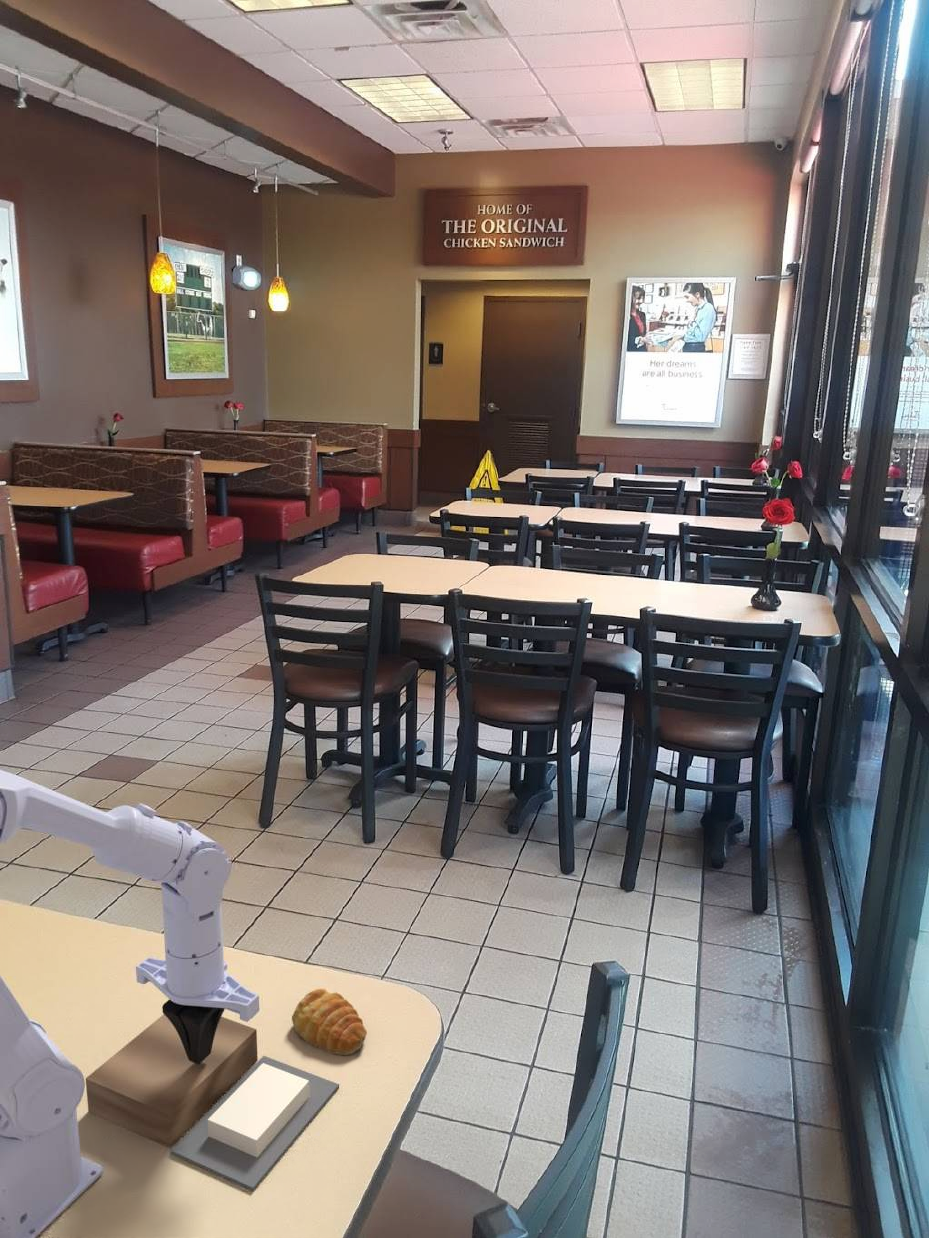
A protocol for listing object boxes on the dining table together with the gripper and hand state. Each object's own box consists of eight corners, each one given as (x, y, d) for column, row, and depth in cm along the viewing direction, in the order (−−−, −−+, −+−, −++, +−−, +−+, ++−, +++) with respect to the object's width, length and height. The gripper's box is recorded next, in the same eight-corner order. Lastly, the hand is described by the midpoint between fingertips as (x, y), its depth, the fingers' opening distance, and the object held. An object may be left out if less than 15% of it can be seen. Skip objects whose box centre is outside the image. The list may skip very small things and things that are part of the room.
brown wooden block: (170, 1148, 92) (168, 1114, 91) (88, 1111, 96) (85, 1078, 95) (257, 1059, 104) (256, 1029, 103) (181, 1030, 109) (179, 1000, 108)
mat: (253, 1191, 87) (253, 1187, 87) (170, 1153, 91) (170, 1150, 91) (339, 1087, 100) (339, 1084, 100) (263, 1058, 104) (263, 1055, 104)
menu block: (207, 1119, 93) (208, 1136, 93) (256, 1140, 90) (257, 1157, 91) (262, 1062, 100) (263, 1078, 101) (309, 1080, 98) (309, 1096, 98)
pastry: (381, 1039, 108) (380, 1011, 107) (336, 1069, 104) (336, 1040, 103) (329, 1003, 115) (328, 976, 114) (285, 1030, 110) (284, 1002, 109)
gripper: (276, 940, 95) (279, 1054, 98) (166, 906, 101) (172, 1014, 104) (232, 978, 89) (237, 1098, 92) (117, 939, 95) (126, 1053, 98)
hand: (199, 1056), depth 98 cm, fingers closed
